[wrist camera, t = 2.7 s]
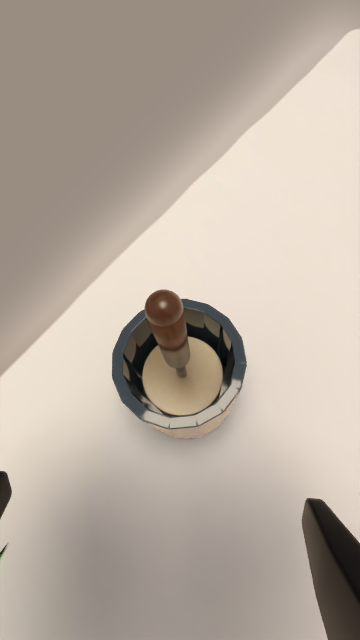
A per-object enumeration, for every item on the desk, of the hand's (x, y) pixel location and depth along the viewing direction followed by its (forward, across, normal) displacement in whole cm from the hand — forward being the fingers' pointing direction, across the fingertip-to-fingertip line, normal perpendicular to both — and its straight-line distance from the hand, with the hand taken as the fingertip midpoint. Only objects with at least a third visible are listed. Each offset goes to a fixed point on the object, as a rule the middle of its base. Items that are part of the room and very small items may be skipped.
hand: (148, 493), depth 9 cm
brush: (+13, 0, +5) cm, 14 cm away
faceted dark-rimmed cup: (+13, 0, +5) cm, 14 cm away
